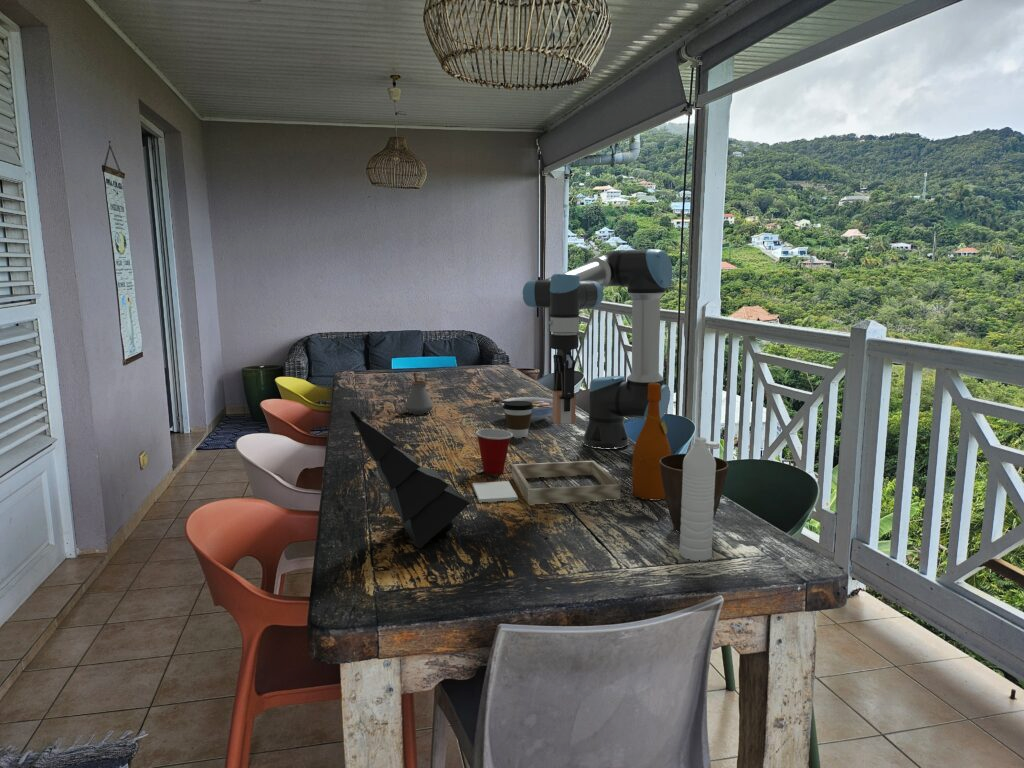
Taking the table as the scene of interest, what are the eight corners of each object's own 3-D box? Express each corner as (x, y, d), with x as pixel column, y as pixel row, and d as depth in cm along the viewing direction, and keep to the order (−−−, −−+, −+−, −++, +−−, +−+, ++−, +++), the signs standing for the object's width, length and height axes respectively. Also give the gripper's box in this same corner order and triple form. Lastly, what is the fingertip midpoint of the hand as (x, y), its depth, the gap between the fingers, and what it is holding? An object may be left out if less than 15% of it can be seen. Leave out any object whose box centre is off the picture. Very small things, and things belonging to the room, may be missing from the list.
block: (570, 419, 191) (570, 390, 190) (575, 423, 186) (575, 393, 185) (552, 420, 190) (552, 391, 189) (556, 424, 185) (557, 394, 184)
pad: (508, 484, 195) (508, 481, 195) (517, 500, 181) (517, 497, 181) (472, 486, 193) (472, 483, 193) (479, 502, 179) (479, 499, 179)
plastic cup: (508, 478, 201) (508, 437, 199) (471, 476, 203) (471, 435, 201) (516, 467, 211) (516, 428, 209) (480, 465, 213) (480, 427, 211)
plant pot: (713, 547, 151) (717, 475, 148) (647, 534, 159) (649, 464, 156) (732, 526, 163) (736, 459, 161) (670, 514, 171) (672, 450, 168)
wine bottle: (647, 504, 179) (651, 387, 174) (624, 493, 187) (627, 381, 182) (677, 498, 183) (682, 384, 178) (653, 488, 192) (657, 378, 187)
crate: (593, 473, 205) (593, 460, 204) (620, 500, 182) (620, 485, 181) (512, 478, 201) (512, 464, 200) (528, 505, 178) (528, 490, 177)
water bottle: (673, 551, 148) (677, 435, 144) (699, 548, 151) (705, 433, 147) (696, 568, 140) (702, 445, 136) (724, 563, 142) (730, 442, 138)
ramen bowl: (571, 419, 280) (571, 398, 279) (542, 430, 261) (542, 408, 260) (517, 412, 293) (517, 393, 292) (486, 422, 274) (486, 401, 273)
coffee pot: (435, 414, 289) (434, 378, 286) (406, 416, 286) (406, 379, 283) (428, 405, 309) (427, 371, 307) (401, 406, 306) (400, 372, 304)
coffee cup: (497, 438, 248) (497, 404, 247) (509, 431, 258) (509, 399, 257) (527, 441, 244) (527, 406, 242) (537, 434, 254) (538, 401, 252)
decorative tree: (412, 539, 164) (316, 426, 152) (461, 497, 167) (371, 383, 155) (429, 563, 151) (326, 441, 139) (482, 517, 154) (386, 394, 142)
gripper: (542, 330, 193) (542, 414, 196) (558, 336, 175) (557, 428, 179) (569, 330, 194) (568, 413, 198) (587, 336, 176) (586, 427, 180)
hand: (563, 420), depth 188 cm, fingers closed on block, 5 cm apart
